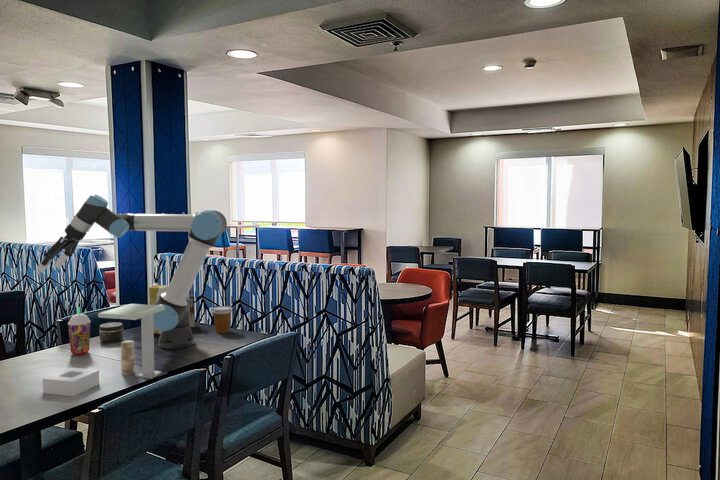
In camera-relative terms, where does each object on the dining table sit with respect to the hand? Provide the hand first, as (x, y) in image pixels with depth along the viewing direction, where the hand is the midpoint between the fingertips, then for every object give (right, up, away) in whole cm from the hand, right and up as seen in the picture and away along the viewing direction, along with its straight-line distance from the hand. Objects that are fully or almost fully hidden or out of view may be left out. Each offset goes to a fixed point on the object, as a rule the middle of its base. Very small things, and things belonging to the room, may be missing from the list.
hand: (48, 269), depth 214 cm
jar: (+15, -35, +24) cm, 45 cm away
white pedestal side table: (+45, -38, -21) cm, 63 cm away
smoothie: (+12, -36, +3) cm, 38 cm away
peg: (+42, -38, -20) cm, 60 cm away
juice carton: (+30, -34, +41) cm, 61 cm away
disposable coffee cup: (+61, -34, +43) cm, 82 cm away
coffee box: (+39, -33, +53) cm, 73 cm away
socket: (+30, -39, -36) cm, 61 cm away
